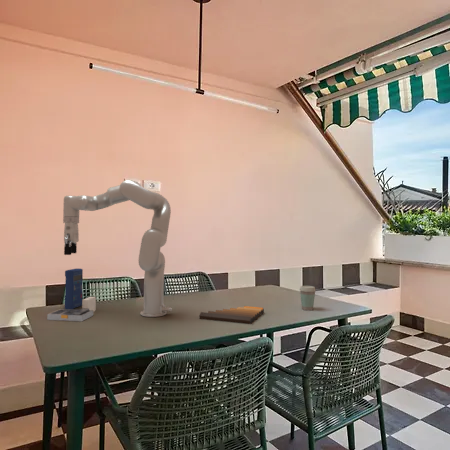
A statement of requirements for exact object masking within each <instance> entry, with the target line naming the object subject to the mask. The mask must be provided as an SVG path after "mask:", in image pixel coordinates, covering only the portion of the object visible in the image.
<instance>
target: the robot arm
mask: <svg viewBox="0 0 450 450" xmlns="http://www.w3.org/2000/svg"><path fill="white" fill-rule="evenodd" d="M128 201H131V202H133V203H134V204H135V205H138V206H140V207H142V208H144V209H146V210H152V211H153V216H152V218H151V224H150V228H149V229H147V230H146V231H145V232H144V233H143V235H142V238H141V241H140V249H139V254H138V265H139V267H140V269H141V270H143V271H144V277H143V280H144V281H143V310H141V311H140V312H139V313H140V315H141V316H142V317H145V318H146V317H148V318H157V317H163V316H165V315H167V312H170V313H171V312H172V310H173V309H172V307H171V306H166V304H165V303H164V290H165V289H164V284H165V283H164V282H165V267H166V258H165V255H164V254H163V252H162V251H161V248H162V247H163V246H165V245H166V244H167V239H168V233H169V225H170V220H171V212H172V211H171V205H170V202H169V201H168V199H167V198H166V197H164V196H163V195H162V194H160V193H158V192H154V191H151V190H149V189H147V188H145V187H144V186H142V185H141V183H139V182H138V181H135V180H130V179H126V180H124V181H122V182H121V183H120V184H119V185H116V186H111V187H109V188H108V189H107V191H106V192H103V193H102V194H97V195H94V196H90V195H84V194H83V195H66V196H64V197H63V218H62V222H63V224H64V229H63V230H64V231H63V232H64V233H63V243H64V245H63V246H64V248H63V250H64V251H63V255H65V256H71V255H72V254H77V251H78V250H77V245H78V242H79V240H80V239H79V236H80V234H79V223H80V211H85V212H86V211H87V212H88V211H90V212H94V211H99V210H103V209H106V208H109V207H111V206H114V205H118V204H120V203H123V202H124V203H125V202H128Z"/></svg>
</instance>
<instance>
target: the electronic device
mask: <svg viewBox="0 0 450 450" xmlns="http://www.w3.org/2000/svg"><path fill="white" fill-rule="evenodd" d="M83 270H84V269H83V268H72V269H71V268H70V269H67V270H65V271H64V277H65V286H64V287H65V292H64V293H65V295H64V309H76V308H78V307H82V300H83V277H84V276H83V274H84V273H83Z"/></svg>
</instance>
